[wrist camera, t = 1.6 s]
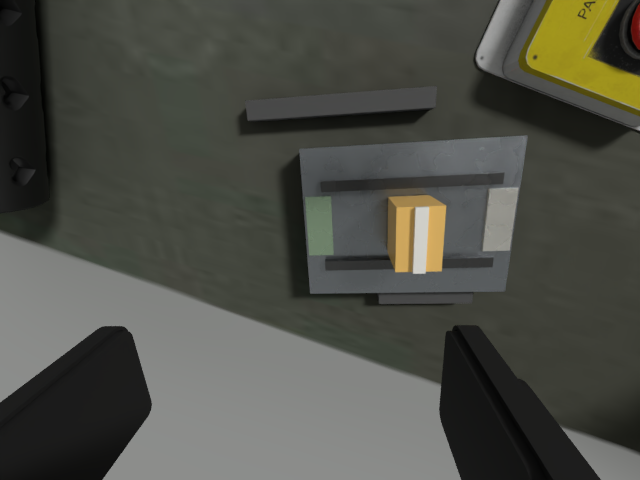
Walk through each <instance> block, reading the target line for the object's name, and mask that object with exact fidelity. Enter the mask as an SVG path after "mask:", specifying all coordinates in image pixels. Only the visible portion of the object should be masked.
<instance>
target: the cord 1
mask: <svg viewBox="0 0 640 480" xmlns="http://www.w3.org/2000/svg"><path fill="white" fill-rule="evenodd" d="M436 92H437V86H431V87H418V88H404V89H391V90H378V91H365V92H352V93H339V94H326V95H313V96H300V97H287V98H274V99H261V100H248V101H245V103H246V111H247V120H248V121H251V122H259V121H273V120H287V119H302V118H316V117H331V116H345V115H360V114H374V113H388V112H403V111H417V110H431V109H433V108H436Z"/></svg>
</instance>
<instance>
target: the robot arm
mask: <svg viewBox="0 0 640 480" xmlns="http://www.w3.org/2000/svg"><path fill="white" fill-rule="evenodd" d="M151 406H152V403H151V398H150V395H149V392H148V388H147V384H146V381H145V378H144V374H143V371H142V367H141V364H140V360H139V357H138V353H137V350H136V346H135V343H134V340H133V336H132V334H131V333H130V332H128V330H127V329H126V328H125V327H122V326H105V327H101V328H99V329H97V330H96V331H95V332H93V333H92V334H91V335H89V336H88V337H87V338H85V339H84V340H83V341H81V342H80V343H79V344H77V345H76V346H75V347H73V348H72V349H71V350H70V351H68V352H67V353H65V355H63V356H61V357H60V358H59V359H57V360H56V361H55V362H53V363H52V364H51V365H50V366H48V367H47V368H46V369H44V370H43V371H42V372H40V373H39V374H38V375H36V376H35V377H34V378H32V379H31V380H30V381H28V382H27V383H26V384H24V385H23V386H22V387H20V388H19V389H18V390H16V391H15V392H14V393H12V394H11V395H10V396H8V397H7V398H6V399H4V400H3V401H2V402H0V480H102V479H103V478H104V477H105V475H106V474H107V472H108V471H109V469H110V468H111V467H112V465H113V464H114V463H115V461H116V460H117V458H118V457H119V456H120V454H121V453H122V452H123V450H124V449H125V447H126V446H127V445H128V443H129V442H130V440H131V439H132V438H133V436H134V435H135V433H136V432H137V431H138V429H139V428H140V427H141V425H142V424H143V422H144V421H145V420H146V418H147V417H148V415H149V413H150V411H151ZM439 410H440V418H441V423H442V426H443V428H444V431H445V434H446V437H447V440H448V443H449V446H450V449H451V452H452V454H453V457H454V460H455V463H456V466H457V469H458V472H459V474H460V477H461V480H600V478H599V477H598V476H597V474H596V473H595V472H594V470H593V469H592V468H591V466H590V465H589V464H588V462H587V461H586V460H585V459H584V457H583V456H582V455H581V453H580V452H579V451H578V449H577V448H576V447H575V445H574V444H573V443H572V442H571V440H570V439H569V438H568V436H567V435H566V434H565V432H564V431H563V430H562V428H561V427H560V426H559V424H558V423H557V422H556V421H555V419H554V418H553V417H552V415H551V414H550V413H549V411H548V410H547V409H546V407H545V406H544V405H543V404H542V402H541V401H540V400H539V398H538V397H537V396H536V394H535V393H534V392H533V390H532V389H531V388H530V387H529V386H528V384H527V383H526V382H525V381H523V380H521V379H517V377H516V376H515V375H514V373H513V372H512V371H511V369H510V368H509V367H508V365H507V364H506V362H505V361H504V360H503V358H502V357H501V356H500V354H499V353H498V352H497V350H496V349H495V348H494V346H493V345H492V344H491V342H490V341H489V339H488V338H487V337H486V335H485V334H484V333H483V331H482V330H481V329H480V328H479V327H478V326H476V325H455V326H454V327H453V330H452V331H447V332H446V337H445V349H444V361H443V372H442V384H441V396H440V408H439Z"/></svg>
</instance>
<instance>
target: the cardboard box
mask: <svg viewBox="0 0 640 480" xmlns="http://www.w3.org/2000/svg"><path fill="white" fill-rule="evenodd" d="M445 218H446V205H445V204H443V203H441V202H440V201H438V200H436V199H435V198H433V197H432V196H430V195H418V196H394V197H388V241H387V252H388V255H389V257H390V260H391V262H392V265H393V268H394V270H395V272H412V273H413V274H426V272H437V271H442V259H443V245H444V232H445Z"/></svg>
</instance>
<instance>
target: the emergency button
mask: <svg viewBox="0 0 640 480" xmlns="http://www.w3.org/2000/svg"><path fill="white" fill-rule="evenodd" d="M475 60H476V63H477V66H478V67H479V68H481V69H482V70H483V71H485V72H488V73H491V74H493V75H496V76H498V77H501V78H503V79H506V80H509V81H511V82H514V83H516V84H519V85H522V86H524V87H527V88H529V89H532V90H534V91H537V92H540V93H542V94H545V95H547V96H550V97H553V98H555V99H558V100H560V101H563V102H565V103H568V104H571V105H573V106H576V107H578V108H581V109H584V110H586V111H589V112H591V113H594V114H596V115H599V116H602V117H604V118H607V119H609V120H612V121H615V122H617V123H620V124H622V125H625V126H627V127H630V128H633V129H635V130H638V131H640V0H500V1H499V3H498V5H497V8H496V10H495V12H494V14H493V16H492V18H491V21H490V23H489V25H488V27H487V29H486V32H485V34H484V36H483V38H482V40H481V42H480V45H479V47H478V49H477V51H476V57H475Z"/></svg>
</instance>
